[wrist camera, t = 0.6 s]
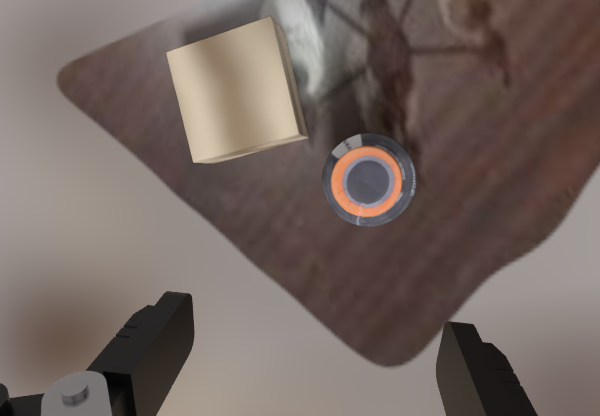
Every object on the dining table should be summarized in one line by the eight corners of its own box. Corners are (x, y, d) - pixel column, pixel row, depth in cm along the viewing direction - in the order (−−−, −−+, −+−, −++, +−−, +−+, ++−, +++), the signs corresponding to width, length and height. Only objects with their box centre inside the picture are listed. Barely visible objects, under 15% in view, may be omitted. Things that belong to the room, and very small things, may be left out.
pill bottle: (329, 151, 33) (302, 142, 22) (399, 132, 32) (407, 112, 21) (346, 219, 33) (327, 243, 22) (416, 203, 32) (432, 221, 21)
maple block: (284, 33, 33) (271, 15, 29) (308, 138, 33) (298, 133, 30) (190, 65, 35) (166, 52, 31) (214, 163, 35) (193, 162, 32)
